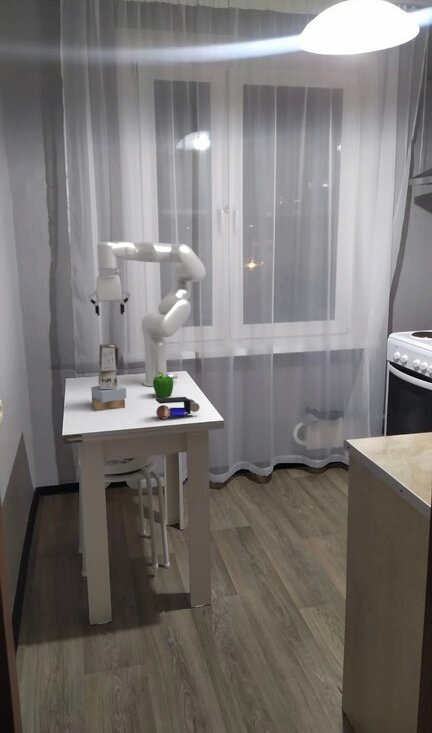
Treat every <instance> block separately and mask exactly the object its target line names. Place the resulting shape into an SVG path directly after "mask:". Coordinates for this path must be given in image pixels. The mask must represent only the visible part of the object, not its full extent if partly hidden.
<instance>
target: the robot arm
mask: <svg viewBox="0 0 432 733" xmlns="http://www.w3.org/2000/svg"><path fill="white" fill-rule="evenodd" d="M96 251H97V252H96V253H97V267H98V268H97V271H98V276H96V278H95V291H93V292H90V293H89V294H88V295H87V298H88V299H89V301H90V303H92V305H93V306H94V309H95V314H96V315H97V316H101V315H100V306H99V304H100V303H101V302H112V301H113V302H114V301H115V302H116V301H119V303H120V304H119V309H120V310H119V311H120V315H121V316H123V315H124V313H125V304H126V303H127V302H128V301H129V299H130V296H131V293H129V292H127V291H125V290H123V289H122V283H121V279H120V276H119V274H121V273H122V271H121V269H119V268H118V262H117V261H119V260H121V261H136V262H143V263H158V264H159V263H160V264H161V263H162V264H163V263H164V264H176V266H175V267H174V269H173V277H174V284H173V287H172V288H171V290H170V291H169V292H168V293H167V294H166V296H164V298H163V299H162V300H161V301H160V303H159V305H158V308H157V311H158V313H151V312H150V313H147V314H146V315H144V316H143V318H142V319H141V323H140V324H141V332H142V336H143V343H144V344H143V347H144V349H143V350H144V370H145V379H144V380H142V382H141V383H142V385H143V386H145V387H153V388H154V386H153V380H154V377H159V376H162V375H161V374H159V372H162V373H163V374H164V377H167V376H170V377H171V378H172V379H173V380H174V379H175V380H176V379H178V374H177V373H176V374H175V373H168V370H167V369H168V368H167V344H166V340H165V338H169V337H172V336H174V335H175V333H177V331H178V330H179V329H180V328H181V327H182V325H183V324H184V323H185V322H186V321H187V319H188V318H189V317H190V314H191V310H192V306H191V303H190V302H189V298H190V296H191V292H192V291H191V290H192V289H191V283H192V282H193V283H198V282H202V281H203V280H204V279H205V277H206V274H207V273H206V272H207V271H206V267H205V265H204V263H203V262H202V261H201V259H200V258H199V257H198V256H197V254H196V253H195V252H194V250H193V249H192V248H191V247H190V246H188V245H187V244H185V243H169V242H167V243H165V242H155V241H142V242H140V241H139V242H132V241H128V240H113V241H99V242H98V243H97V245H96ZM123 295H125V298H124V299H122V298H123ZM94 296H96V301H95V300H94V299H93V297H94Z"/></svg>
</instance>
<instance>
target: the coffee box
mask: <svg viewBox="0 0 432 733" xmlns="http://www.w3.org/2000/svg"><path fill="white" fill-rule="evenodd" d="M98 351H99V353H98V386H100V389H117V385H118V364H119V363H118V362H119V347H118V346H117V344H113V343H112V344H111V343H110V344H109V343H108V344H107V343H106V344H99V350H98Z"/></svg>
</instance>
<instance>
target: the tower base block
mask: <svg viewBox="0 0 432 733" xmlns="http://www.w3.org/2000/svg"><path fill="white" fill-rule="evenodd" d="M125 400H126V398H125V399H119V400H114V401H108V402H101V401H99V400H97V399H95V398H93V397H92V396H91V404H92V407H93V408H94V409H95V411H96V412H99V411H101V412H102V411H109V410H110V411H111V410H117V409H118V410H119V409H125V408H126V402H125Z"/></svg>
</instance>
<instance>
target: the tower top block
mask: <svg viewBox="0 0 432 733" xmlns="http://www.w3.org/2000/svg"><path fill="white" fill-rule="evenodd" d="M90 388H91V398H92V397H93V398H95V399H97V400H99V401H101V402H108V401H114V400H119V399H125V400H126V399H127V388H126V387H125V386H122V385H119V384H117V389H100V386H99V385H96V386H91V387H90Z"/></svg>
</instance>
